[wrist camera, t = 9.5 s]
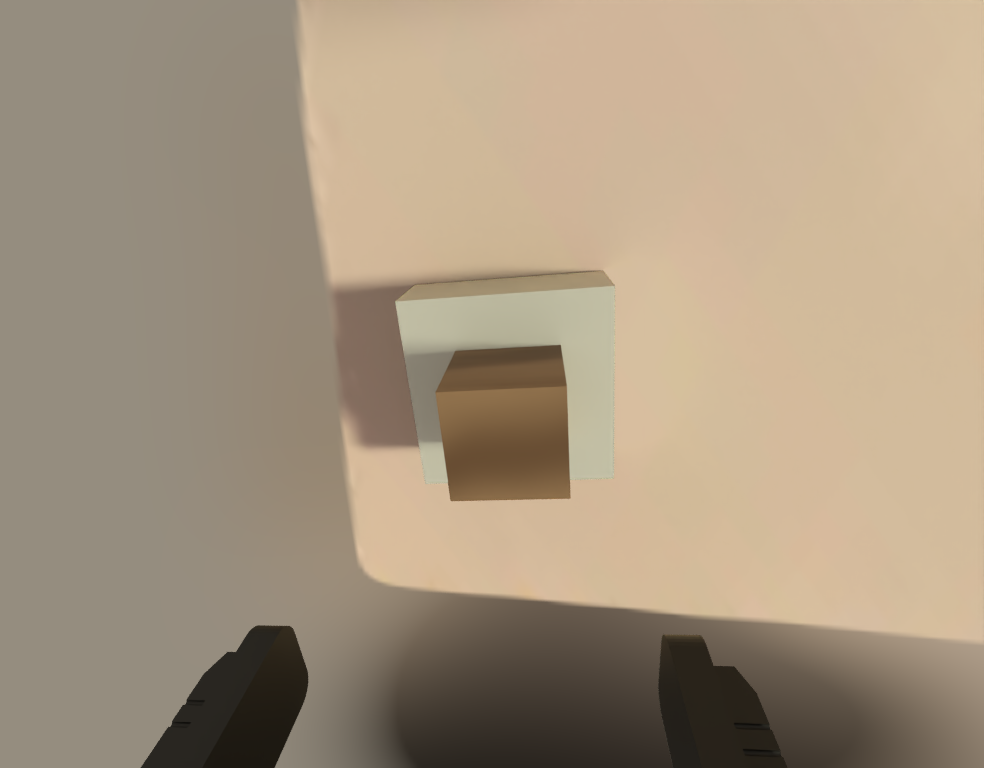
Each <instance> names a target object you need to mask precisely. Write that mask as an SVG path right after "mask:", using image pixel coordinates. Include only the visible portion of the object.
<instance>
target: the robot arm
mask: <svg viewBox="0 0 984 768" xmlns="http://www.w3.org/2000/svg"><path fill="white" fill-rule="evenodd" d="M660 655H661V656H660V668H659V684H658V689H659V701H660V708H661V714H662V720H663V725H664V729H665V733H666V738H667V743H668V747H669V751H670V756H671V760H672V765H673V768H787V765H786V763H785V761H784V758H783V757H782V756H781V753H780V749H779V746H778V744H777V741H776V739H775V736H774V734H773V732H772V730H770V727H769V722H768V720H767V717H766V715H765V712H764V710H763V708H762V705H761V703H760V701H759V698H758V696H757V693H756V692H755V691H754V690H753V688H752V687H751V686H750V685H749V684H748V682H747V681H746V680H745V679H744V678H743V676H742V675H741V674H740V673H739V672H738V670H737V669H736V668H735V667H730V666H713V663H712V660H711V657H710V655H709V652H708V649H707V646H706V643H705V641H704V639H703V637H702V636H700V635H663V636H662V641H661V654H660ZM307 687H308V672H307V668H306V665H305V662H304V659H303V656H302V653H301V650H300V647H299V644H298V641H297V638H296V635H295V632H294V630H293V628H292V627H290V626H255V627H254V628H252V629H251V630H250V631H249V633H248V634H247V636H246V637H245V639H244V640H243V642H242V644H241V645H240V647H239V648H238V650H237V651H236V652H227V653H226V654H225V655H224V656H223V657H222V658H221V659H220V660H218V661H217V662H216V663H215V664H214V665H213V666H212V667H211V668H210V669H209V670H208V671H207V672H205V673H204V675H203V676H202V678H201V679H200V681H199V682H198V684H197V685H196V687H195V688H194V689H193V691H192V692H191V694H190V695H189V697H188V699H187V702H186V704H185V705H183V706H182V707H181V709H180V710H179V712H178V713H177V715H176V716H175V718H174V719H173V721H172V725H171V727H168V728H167V730H166V731H165V733H164V734H163V736H162V737H161V738H160V740H159V741H158V743H157V745H156V746H155V747H154V749H153V750H152V752H151V753H150V755H149V756H148V758H147V759H146V761H145V762H144V764H143V765H142V767H141V768H275V765H276V763H277V761H278V759H279V757H280V754H281V752H282V750H283V748H284V745H285V743H286V741H287V739H288V736H289V734H290V732H291V730H292V727H293V725H294V723H295V721H296V719H297V716H298V714H299V712H300V710H301V707H302V705H303V702H304V700H305V697H306V692H307Z"/></svg>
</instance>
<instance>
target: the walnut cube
mask: <svg viewBox="0 0 984 768" xmlns="http://www.w3.org/2000/svg"><path fill="white" fill-rule="evenodd" d="M435 394H436V401H437V408H438V415H439V422H440V429H441V436H442V443H443V450H444V457H445V464H446V471H447V478H448V486H449V493H450V500H451V501H477V500H523V499H569V498H570V468H569V436H568V403H567V383H566V376H565V370H564V363H563V356H562V350H561V345H551V346H533V347H515V348H497V349H480V350H462V351H455V353H454V355H453V357H452V359H451V361H450V363H449V365H448V367H447V369H446V371H445V373H444V375H443V378H442V380H441V382H440V384H439V386H438V388H437V390H436V392H435Z"/></svg>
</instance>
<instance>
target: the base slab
mask: <svg viewBox="0 0 984 768" xmlns="http://www.w3.org/2000/svg"><path fill="white" fill-rule="evenodd" d="M395 304H396V310H397V316H398V322H399V328H400V334H401V340H402V346H403V353H404V359H405V365H406V371H407V377H408V383H409V389H410V395H411V401H412V407H413V413H414V419H415V425H416V431H417V437H418V443H419V449H420V455H421V461H422V467H423V473H424V479H425V484H440V483H448V478H447V471H446V464H445V457H444V450H443V443H442V436H441V429H440V422H439V415H438V408H437V401H436V394H435V392H436V390H437V388H438V386H439V384H440V382H441V380H442V378H443V375H444V373H445V371H446V369H447V367H448V365H449V363H450V361H451V359H452V357H453V355H454V353H455V351H462V350H480V349H497V348H515V347H533V346H551V345H561V350H562V356H563V363H564V370H565V376H566V383H567V403H568V436H569V468H570V480H583V479H614V373H615V285H614V284H613V283H612V281H611V280H610V279H609V277H608V276H607V275H606V273H605V272H604V271H593V272H580V273H566V274H553V275H540V276H526V277H513V278H500V279H486V280H473V281H459V282H446V283H433V284H419V285H414V286H413V287H412V288H411V289H409V290H408V291H407V292H406V293H405V294H403V295H402V296H401V297H400V298H399V299H398V300H396V301H395Z"/></svg>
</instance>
